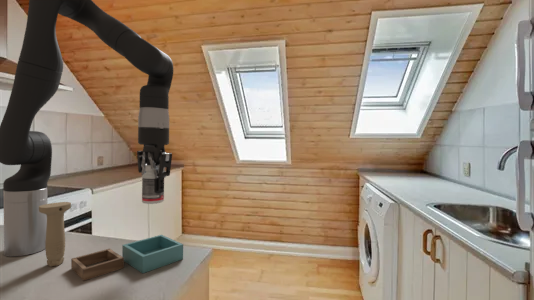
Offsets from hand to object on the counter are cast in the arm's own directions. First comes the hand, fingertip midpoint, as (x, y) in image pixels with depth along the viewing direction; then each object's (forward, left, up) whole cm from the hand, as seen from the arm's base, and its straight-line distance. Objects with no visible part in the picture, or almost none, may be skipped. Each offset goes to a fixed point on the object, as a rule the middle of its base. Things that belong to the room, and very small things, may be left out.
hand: (153, 190), depth 73 cm
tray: (0, 0, -18) cm, 18 cm away
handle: (-15, -17, -19) cm, 30 cm away
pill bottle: (0, 0, -3) cm, 3 cm away
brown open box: (-5, -11, -18) cm, 22 cm away
